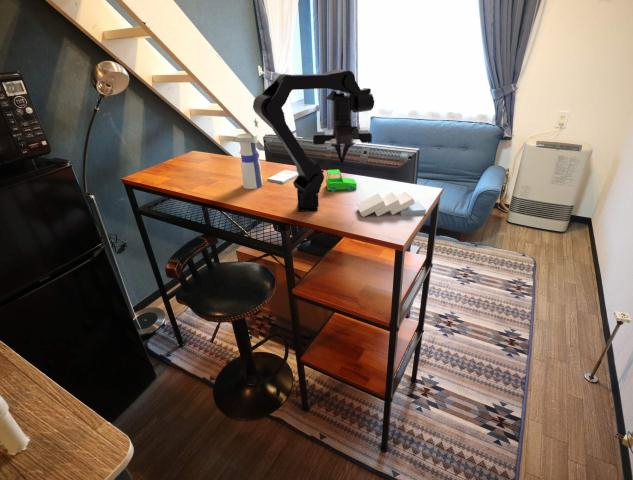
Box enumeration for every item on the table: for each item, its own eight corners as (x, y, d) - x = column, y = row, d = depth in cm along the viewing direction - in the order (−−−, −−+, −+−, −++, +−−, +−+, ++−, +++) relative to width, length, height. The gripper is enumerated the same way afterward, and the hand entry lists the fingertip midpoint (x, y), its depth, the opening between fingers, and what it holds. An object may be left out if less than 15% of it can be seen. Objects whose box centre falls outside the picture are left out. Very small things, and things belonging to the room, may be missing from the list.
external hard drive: (267, 182, 140) (285, 172, 149) (283, 185, 136) (300, 175, 145) (266, 178, 139) (284, 169, 148) (283, 181, 135) (300, 172, 144)
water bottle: (252, 180, 140) (244, 116, 128) (268, 184, 136) (261, 118, 123) (237, 186, 135) (227, 120, 122) (253, 190, 130) (244, 122, 118)
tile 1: (360, 212, 108) (383, 200, 107) (356, 204, 113) (378, 193, 112) (362, 217, 109) (385, 205, 108) (358, 209, 114) (380, 198, 113)
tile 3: (390, 210, 108) (413, 198, 108) (383, 202, 113) (405, 191, 113) (392, 215, 109) (415, 203, 109) (385, 207, 114) (407, 196, 114)
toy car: (327, 192, 128) (327, 175, 125) (325, 185, 134) (325, 169, 130) (357, 190, 129) (357, 173, 125) (353, 184, 134) (354, 167, 131)
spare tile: (401, 211, 109) (426, 209, 109) (395, 203, 114) (419, 202, 114) (401, 217, 110) (425, 215, 110) (395, 209, 115) (418, 207, 115)
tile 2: (375, 211, 108) (398, 199, 107) (370, 203, 113) (392, 192, 112) (377, 216, 109) (400, 204, 108) (372, 208, 114) (394, 197, 113)
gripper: (313, 120, 100) (314, 172, 108) (376, 118, 100) (373, 170, 108) (311, 113, 110) (313, 161, 117) (369, 111, 110) (367, 159, 118)
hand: (341, 163), depth 115 cm, fingers closed
